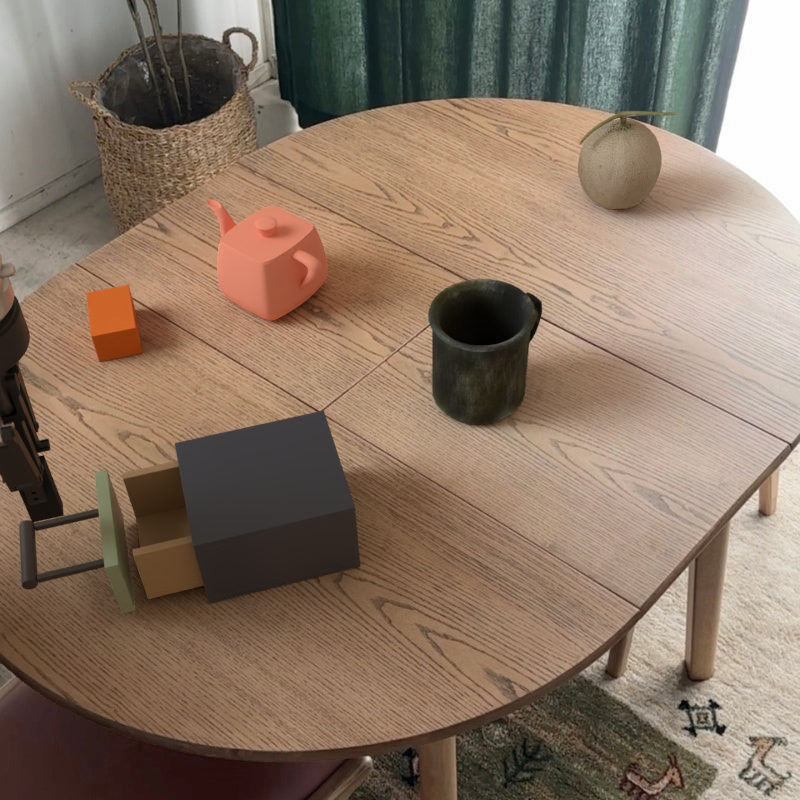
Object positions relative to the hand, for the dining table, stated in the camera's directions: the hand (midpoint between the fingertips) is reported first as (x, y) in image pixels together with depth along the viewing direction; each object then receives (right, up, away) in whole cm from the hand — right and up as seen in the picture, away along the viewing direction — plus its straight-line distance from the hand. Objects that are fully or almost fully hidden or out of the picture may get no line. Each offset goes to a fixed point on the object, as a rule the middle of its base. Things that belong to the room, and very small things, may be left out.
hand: (47, 512), depth 94 cm
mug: (+41, +11, +24) cm, 49 cm away
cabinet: (+19, -3, +11) cm, 22 cm away
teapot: (+15, +24, +37) cm, 46 cm away
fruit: (+59, +36, +48) cm, 84 cm away
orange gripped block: (-2, +18, +32) cm, 36 cm away
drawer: (+7, -5, +8) cm, 12 cm away
